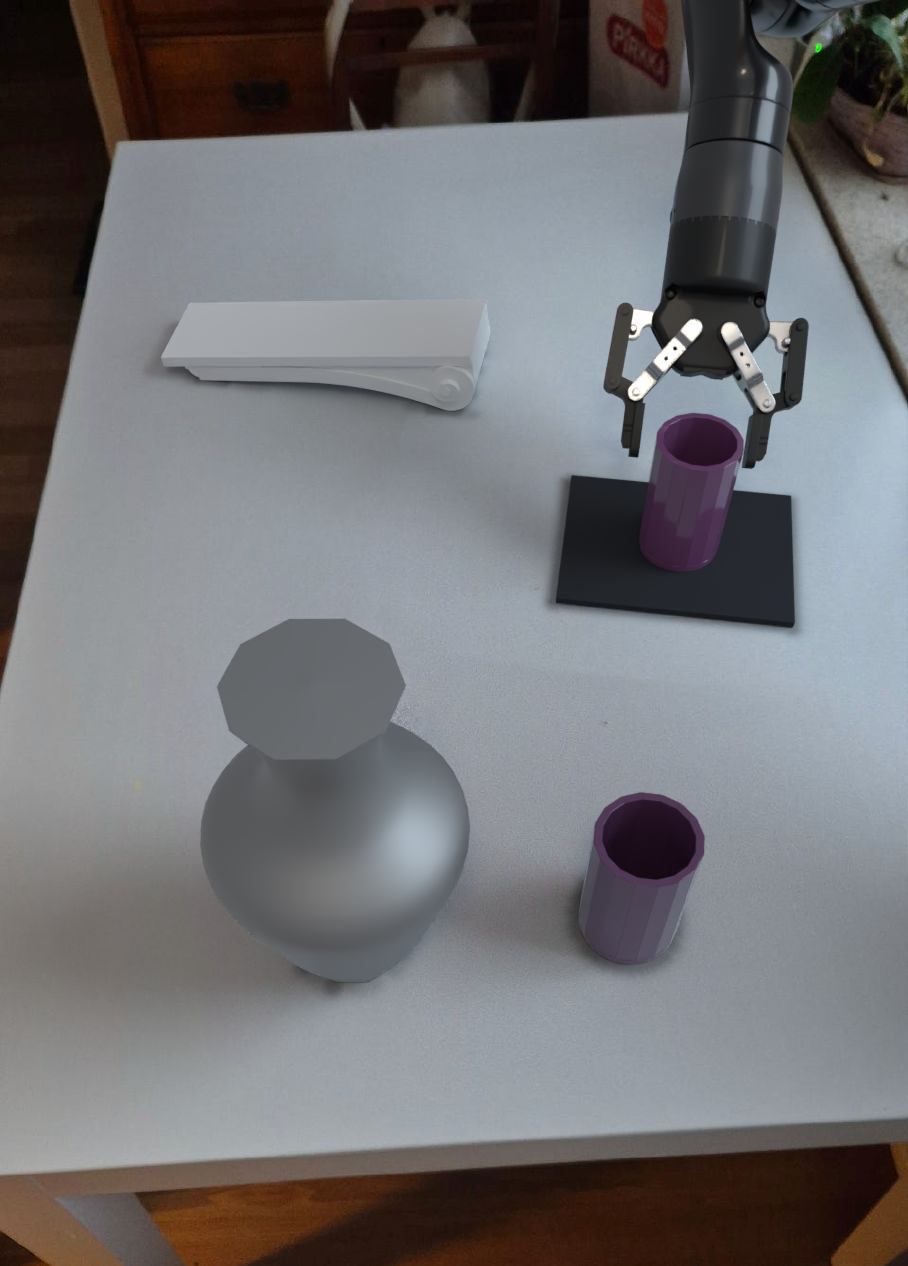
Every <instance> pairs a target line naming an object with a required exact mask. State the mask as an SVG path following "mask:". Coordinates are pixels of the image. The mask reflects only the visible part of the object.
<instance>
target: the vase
mask: <svg viewBox="0 0 908 1266" xmlns="http://www.w3.org/2000/svg"><path fill="white" fill-rule="evenodd" d="M406 687H407V684H406V682H405V679H404V677H403V674H402V672H401V669H400V667H399V663H398V661H397V659H396V657H395V653H394V651H393V649H392V647H391V644H390V643H389V642H387V641H386V640H384V639H382V638H381V637H379V636H377V635H376V634H374V633H371V632H370V631H368V630H366V629H364V628H362V627H361V626H360V625H357V624H356V623H354V622H352V621H350V620H348V619H346V618H288V619H286V620H284V621H282V622H280V623H278V624H276V625H275V626H273V627H271V628H269V629H267V630H265V631H263V632H260V633H259V634H256V635H255V636H253V637H251V638H250V639H247V640H245V641H244V642H242V643H240V644H239V646H238V648H237V649H236V651H235V653H234V655H233V656H232V658H231V660H230V662H229V664H228V666H227V667H226V669H225V670H224V673H223V675H222V676H221V678H220V680H219V682H218V683H217V686H216V688H217V689H216V690H217V692H218V696H219V699H220V704H221V708H222V711H223V713H224V714H223V715H224V719H225V721H226V725H227V728H228V732H229V733H231V734H232V735H234V736H235V737H236V738H238V739H239V740H240V741H242V742H243V743H244V744H246V746H245V747H244V748H242V749H240V751H239V752H237V753H236V755H234V757H232V759H231V760H230V761H229V762H228V764H227V765H226V766H225V767H224V769H222V771H221V772H220V775H218V777H217V779H216V780H215V782H214V784H213V785H212V787H211V789H210V791H209V794H208V797H207V799H206V800H205V803H204V808H203V812H202V816H201V819H200V837H199V848H200V853H201V861H202V862H201V863H202V865H203V868H204V871H205V875H206V876H207V880H208V883H209V885H210V888H211V889H212V890H213V892H214V895H215V896H216V898H217V899H218V902H219V903H220V904H221V906H222V907H223V908H224V910H226V911H227V913H228V914H229V915H230V916H231V918H233V919H234V921H236V923H237V924H238V925H239V926H240V927H242V928H243V929H244V930H245V931H246V932H248V933H249V934H250V935H251V936H252V937H253V938H255V939H256V940H257V941H259V942H260V943H261V944H263V945H264V946H265V947H267V948H269V949H270V950H271V951H273V952H274V953H276V954H277V955H279V956H280V957H282V958H283V959H284V960H287V961H288V962H290V963H291V964H293V965H295V966H297V967H298V968H301V970H304V971H306V972H308V973H311V974H313V975H315V976H318V977H320V978H323V979H328V980H331V981H332V982H334V983H370V982H371V981H373V980H374V979H376V978H377V977H379V976H380V975H382V974H383V973H385V972H387V971H389V970H391V968H393V967H394V966H396V965H397V964H398V963H399V962H401V961H402V960H403V959H405V957H406V956H407V955H408V954H410V952H411V951H412V950H413V949H414V948H415V947H417V945H418V944H419V943H420V942H421V940H422V939H423V938H424V937H425V935H426V934H427V932H428V930H429V929H430V927H431V926H432V925H433V923H434V922H435V921H436V919H437V918H438V916H439V915H440V913H441V911H442V910H443V908H444V907H445V906H446V904H447V903H448V901H449V900H450V898H451V896H452V895H453V892H454V890H455V888H456V886H457V884H458V882H459V880H460V877H461V875H462V873H463V870H464V867H465V863H466V860H467V855H468V852H469V844H470V831H471V823H470V813H469V807H468V803H467V799H466V797H465V793H464V790H463V788H462V785H461V783H460V781H459V779H458V778H457V775H456V774H455V772H454V770H453V769H452V767H451V766H450V764H449V763H448V761H446V759H445V757H444V756H443V755H442V754H441V753H440V752H438V750H436V749H435V748H434V747H433V746H432V745H431V744H430V743H428V742H427V741H426V740H424V739H423V738H421V737H420V736H418V734H416V733H414V732H413V731H411V730H409V729H407V728H405V727H404V726H401V725H399V724H397V723H395V722H392V718H393V716H394V714H395V712H396V710H397V707H398V705H399V703H400V701H401V698H402V696H403V693H404V692H405V689H406Z"/></svg>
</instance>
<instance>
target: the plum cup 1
mask: <svg viewBox="0 0 908 1266" xmlns="http://www.w3.org/2000/svg"><path fill="white" fill-rule="evenodd" d="M656 431H657V432H656V435H655V441H654V447H653V453H652V458H651V463H650V470H649V474H648V480H647V482H648V485H647V491H646V496H645V502H644V508H643V513H642V519H641V524H640V531H639V538H638V544H639V548H640V550H641V552H642V554H643V555H644V556H645V558H646V559H647V560H648V561H650V562H651V563H652V564H654V565H656V566H658V567H660V568H662V569H665V570H669V571H674V572H689V571H694V570H697V569H700V568H702V567H704V566H706V565H707V564H709V563H710V562H711V561H712V559H713V558H714V556H715V555H716V552H717V549H718V547H719V543H720V539H721V535H722V532H723V528H724V524H725V520H726V516H727V512H728V509H729V505H730V501H731V497H732V493H733V490H735V486H736V481H737V478H738V475H739V470H740V467H741V464H742V460H743V454H744V447H745V440H744V438H743V436H742V434H741V433H740V431H739V429H738V428H737V427H736V426H735V425H733V424H732V423H731V422H729V421H728V420H727V419H724V418H722V417H719V416H716V415H713V414H710V413H700V412H688V413H683V414H678V415H675V416H673V417H671V418H669V419H667V420H666V421H664V422H663V423H662V424H661V426H660V427H659V428H658V430H656Z"/></svg>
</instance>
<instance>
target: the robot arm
mask: <svg viewBox="0 0 908 1266" xmlns="http://www.w3.org/2000/svg"><path fill="white" fill-rule="evenodd" d="M879 1H881V0H680V3H681V5H680V6H681V12H682V22H683V23H682V24H683V31H684V39H685V47H686V49H685V51H686V60H687V70H688V78H689V79H688V80H689V88H690V96H689V97H690V98H689V105H688V114H687V120H686V121H687V122H686V129H685V137H684V145H683V154H682V159H681V164H680V167H679V172H678V175H677V179H676V183H675V187H674V188H675V189H674V192H673V193H674V194H673V202H672V208H671V210H670V214H669V223H670V225H669V232H668V241H667V247H666V254H665V264H664V271H663V278H662V285H661V286H662V288H661V294H660V301H659V303H658V305H657V307H656V308H655V310H648V309H647V310H646V309H641V308H635V307H633V305H632V304H631V303H629V302H622V303H620V304H619V305H618V307H616V308H617V309H616V313H615V318H614V324H613V328H612V335H611V340H610V341H611V342H610V345H609V352H608V357H607V362H606V368H605V373H604V380H603V387H602V388H603V390H604V392H605V393H607V394H610V395H613V396H614V397H617V398H619V399H620V400H621V401H622V402H623V404H624V411H623V420H622V428H621V437H620V442H621V448H622V449H628V453H627V454H628V455H627V457H628V458H634V459H635V458H636V459H638V458H639V456H640V449H641V441H642V435H643V434H642V433H643V425H644V418H645V411H646V402H644V399H645V397H647V395H648V394H649V393H650V392H651V391H652V390H653V389H654V388H655V387H656V386H657V385H658V383H660V382H661V380H662V379H663V378H664V377H665V376H666V375H667V374H668V373H669V372H670V370H673V372H675V373H676V374H679V375H680V377H684V378H694V377H700V376H703V377H705V378H708V379H711V380H719V381H723V380H724V379H727V378H730V377H732V378H733V379H734V382H735V383H736V385H737V387H738V389H739V390H740V391H741V392H742V393H743V395H744V397H745V398H746V400H747V402H748V404H749V406H750V408H751V409H752V414H751V415H750V416H748V422H747V428H746V434H745V440H744V451H743V455H742V460H741V468H742V469H746V470H747V469H749V470H752V469H755V467H756V464H757V462H761V461H763V459H764V458H765V456H766V455H767V450H768V444H769V438H770V432H771V431H770V430H771V425H772V419H773V416H774V415H775V414H776V413H780V412H783V411H789V410H791V409H793V408H794V407H796V406H797V405H799V404H800V403H801V402H802V398H803V392H804V390H803V389H804V381H805V380H804V379H805V372H806V371H805V370H806V360H807V350H808V340H809V339H808V338H809V328H810V324H809V321H808V320H807V319H806V318H805V317H798V318H795V319H794V320H793V321H790V320H789V321H785V320H783V321H782V320H770V319H769V316H768V313H767V302H768V301H767V300H768V294H769V288H770V282H771V281H770V280H771V274H772V267H773V260H774V253H775V247H776V241H777V233H778V226H779V225H778V224H779V220H780V213H781V205H782V199H783V197H782V196H783V185H784V184H783V179H784V177H783V173H784V172H783V171H784V161H785V159H784V158H785V153H786V146H787V139H788V133H789V125H790V120H791V111H792V105H793V96H794V81H793V76H792V73H791V71H790V70H789V68H788V67H787V66H786V65H785V64H784V63H783V62H782V61H781V60H779V59H778V58H777V57H776V56H774V55H773V54H772V53H771V52H769V51H768V50H767V49H766V48H765V47H764V46H763V45H762V44H761V43H760V42H759V39H758V38H757V36H756V34H759V35H762V36H766V37H768V38H773V39H774V38H775V39H794V38H800V37H804V36H806V35H808V34H809V33H812V32H813V31H814V30H816V29H817V28H819V27H820V26H821V25H823V24H824V23H825V22H827V21H828V20H830V19H832V17H834V16H835V15H837V14H838V13H839V12H840V11H841V10H844V9H845V10H846V9H849V8H854V7H857V6H858V7H859V6H862V5H867V4H871V3H875V2H879ZM646 328H650V329H651V332H652V335H653V336H654V338H655V340H656V342H657V344H658V345H659V347H660V349H661V350H660V352H659V353H658V354H657V356H655V358H654V359H653V360H652V361H651V362H650V363H649V364H648V366H647V367H646V368H645V369H644V370H643V371H642V372H641V373H640V375H639V376H638V377H637V378H636V379H635V380H634V381H632V380H630V379H628V378H626V377H624V376H623V371H624V368H625V367H624V366H625V360H626V355H627V350H628V345H629V342H634V341H636V340H638V339H639V338H640V336H641V333H642V331H643V330H644V329H646ZM767 338H769V339H771V340H772V341H773V343H774V349H775V352H777V353H778V354H780V355H782V363H781V364H782V365H781V373H780V374H781V375H780V384H779V385H780V387H779V392H776V393H772V392H771V390H770V388H769V386H768V384H767V383H766V381H765V379H764V374H763V372H762V370H761V368H760V366H759V365H758V363H757V361H756V358H754V355H753V353H755V352H756V350H757V349H758V348H759V347H760V346H761V345H762V343H764V341H765V340H766V339H767Z"/></svg>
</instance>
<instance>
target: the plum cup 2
mask: <svg viewBox="0 0 908 1266" xmlns="http://www.w3.org/2000/svg"><path fill="white" fill-rule="evenodd" d="M699 822H700V821H699V820H698V818H697V816H695V815H694V813H692V812H691V811H690V810H689V809H688V807H686V806H685V805H684V804H683V803H682V802H679V801H677V800H676V799H673V798H671V797H668V796H666V795H664V794H661V793H652V792H642V791H641V792H634V793H631V794H626V795H622V796H619V797H618V798H616V799H615V800H614V801H612V802H611V803H609V804H608V805H606V806H605V807H604V808H603V809H602V811H601V812H600V814H599V816H598V817H597V819H596V820H595V822H594V825H593V831H592V837H591V842H590V846H589V851H588V857H587V862H586V868H585V874H584V879H583V884H582V887H581V894H580V899H579V908H578V913H577V914H578V917H577V920H578V926H579V931H580V932H581V935H582V937H583V939H584V940H585V942H586V944H587V945H588V946H589V947H590V948H591V949H592V950H593V951H594V952H595V953H597V955H600V956H601V957H603V958H604V959H607V960H609V961H611V962H614V963H617V964H622V965H639V964H644V963H648V962H650V961H653V960H655V959H657V958H658V957H660V956H661V955H662V954H663V953H665V951H667V950H668V948H669V947H670V946H671V944H672V942H673V940H674V937H675V935H676V933H677V932H678V929H679V927H680V923H681V921H682V917H683V915H684V913H685V910H686V908H687V907H686V906H687V905H688V901H689V898H690V896H691V892H692V890H693V887H694V884H695V882H696V880H697V879H696V878H697V876H698V873H699V870H700V867H701V864H702V861H703V859H704V856H705V839H706V838H705V837H706V836H705V834H704V831H703V828H702V826H701V824H700V823H699Z"/></svg>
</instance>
